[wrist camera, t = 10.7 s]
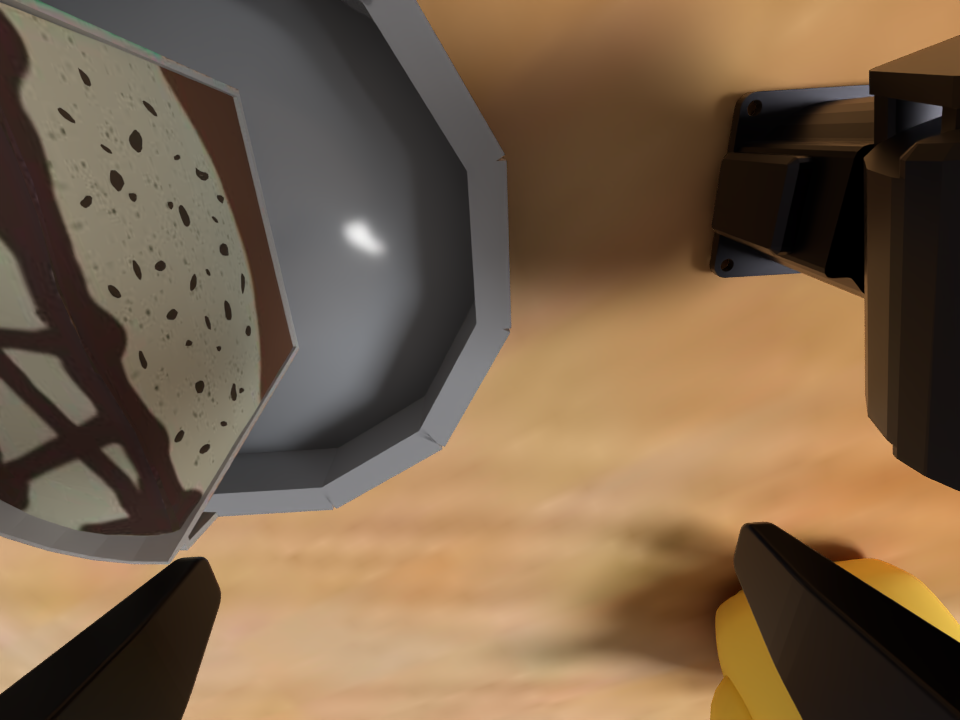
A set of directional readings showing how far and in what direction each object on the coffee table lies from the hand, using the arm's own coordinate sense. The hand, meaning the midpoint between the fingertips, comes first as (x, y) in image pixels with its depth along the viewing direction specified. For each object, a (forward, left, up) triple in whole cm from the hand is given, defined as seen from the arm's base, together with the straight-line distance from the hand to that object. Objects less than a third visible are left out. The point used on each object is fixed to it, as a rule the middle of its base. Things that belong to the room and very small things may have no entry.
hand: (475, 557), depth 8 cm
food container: (+10, -4, -12) cm, 16 cm away
